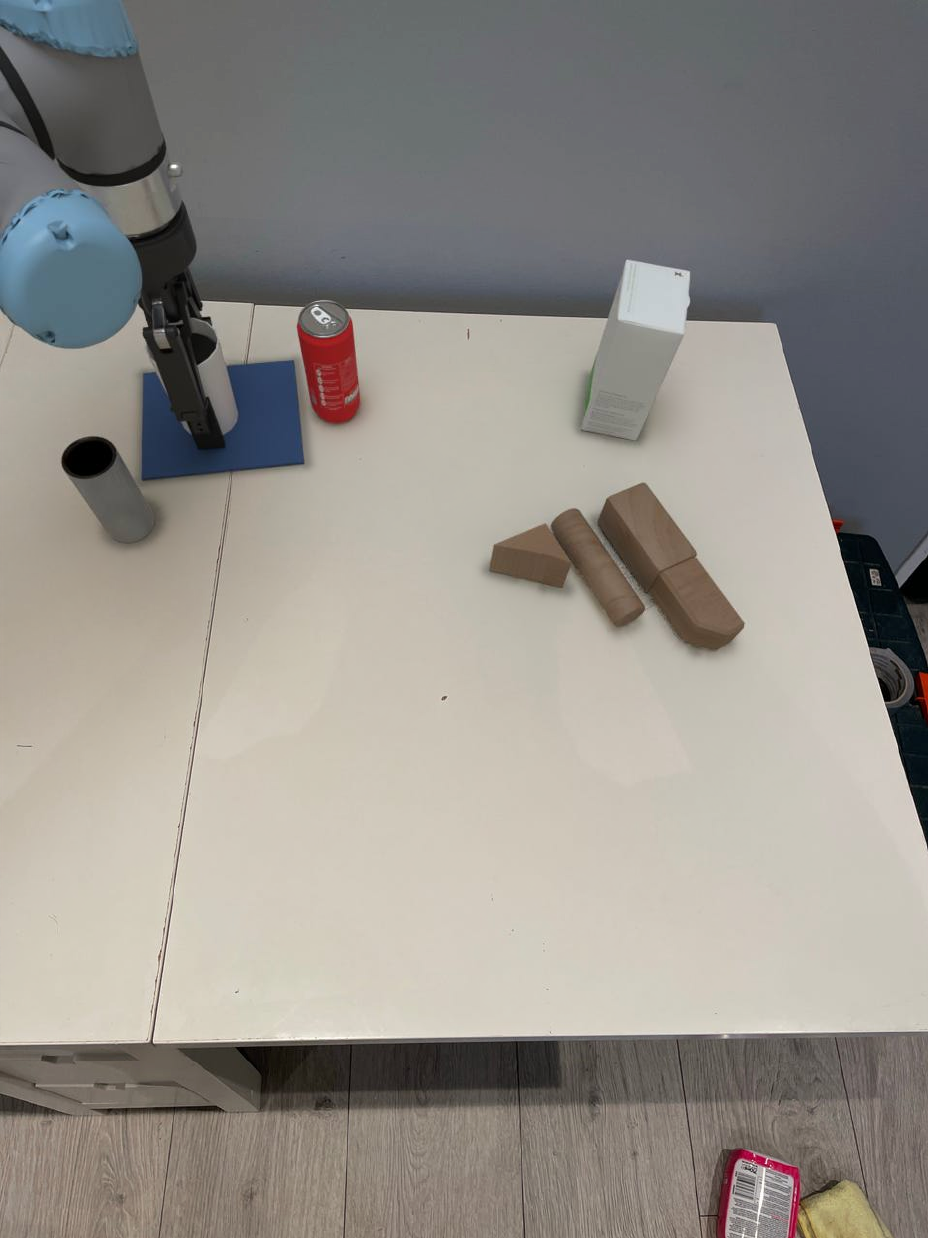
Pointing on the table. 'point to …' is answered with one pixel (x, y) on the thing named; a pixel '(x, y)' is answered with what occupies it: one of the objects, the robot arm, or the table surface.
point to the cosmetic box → (636, 348)
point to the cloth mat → (251, 444)
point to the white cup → (210, 373)
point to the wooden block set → (648, 554)
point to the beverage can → (329, 360)
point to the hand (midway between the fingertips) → (210, 413)
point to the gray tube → (108, 488)
